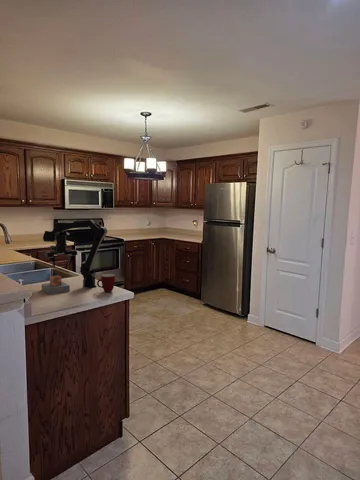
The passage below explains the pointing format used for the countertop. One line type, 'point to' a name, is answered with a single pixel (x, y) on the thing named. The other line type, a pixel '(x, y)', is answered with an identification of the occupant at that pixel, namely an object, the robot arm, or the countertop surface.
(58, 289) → the plinth
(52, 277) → the cube
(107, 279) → the mug
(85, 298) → the countertop surface
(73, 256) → the robot arm
